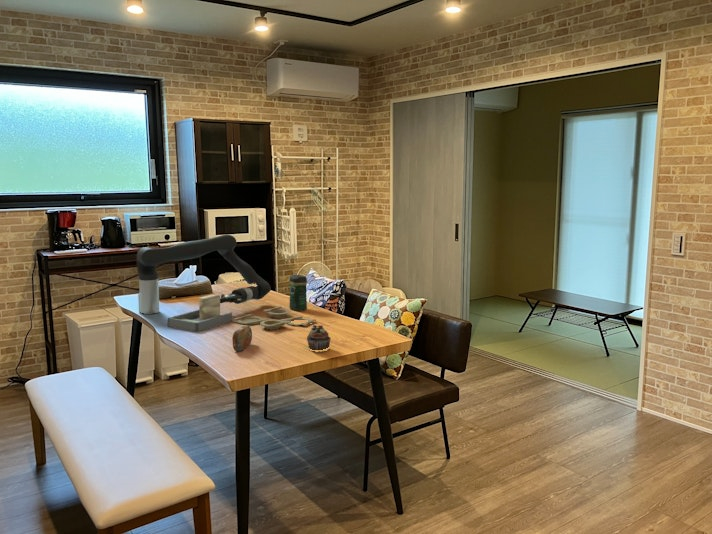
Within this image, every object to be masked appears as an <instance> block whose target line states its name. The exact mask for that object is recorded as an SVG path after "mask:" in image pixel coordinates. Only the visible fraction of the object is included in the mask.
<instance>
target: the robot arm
mask: <svg viewBox="0 0 712 534" xmlns="http://www.w3.org/2000/svg"><path fill="white" fill-rule="evenodd" d="M236 245H237V239H236V237H235V236H234V235H232V234H222V235H218V236H215V237H210V238H204V239H198V240H190V241H184V242H179V243H177V244H174V245H171V246H168V247H162V248H161V247H160V248H152V247H148V246H145V247H144V246H143V247H140V249H138V251H137V253H136V269H137V275H138V287H139V293H138V294H137V295H138V296H137V297H138V298H137V299H138V300H137V301H138V312H139V313H140V312H141V313H140V314H142V313H144V314H143V315H151V314H153V313H154V314H157V313H160V293H159V290H160V289H159V287H160V286H159V273H158V271H157V265H161V264H164V263H165V264H166V263H168V262H178V261H185V260H186V261H187V260H194V259H197V258H201V257H202V256H205V255H207V254H209V253H212V252H215V251H217V252H218V253H219V255H221V256H222V257H223V258H224V260H226V261H227V262H228V263H229V264H231V266H232V267H234V269H235V270H236V271H237V272H238V273H239V275H241V277H242V278H243V280H245V282H246V283H247V284H248V285H252V284H256V286H253V285H252V286H247V287H241V288H236V289H233V290H232V291H231V292H230V293H228V294H226V295H225V294H223V293H222V294H221V295H220V304H223V303H234V304H235V305H238V304H242V303H245V302H246V303H247V302H249V301H251V300H252V301H253V300H262V299H264V297H265V296H267V294H269V293H270V292H271V290H272V288H271V285H270V284H269V281H268V282H267V281H266V280H265V279H263V278H262V277H261V276H260V275H259V274H258V273H256V271H255V270H254V269H253V267H252V266H251V265H250V264H249V263H247V262H246V261H244V260H243V259H241V258H240V257H239V256H238V255H237V254H236V252H235V250H234V249H235V248H236Z"/></svg>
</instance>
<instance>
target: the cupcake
mask: <svg viewBox="0 0 712 534" xmlns="http://www.w3.org/2000/svg"><path fill="white" fill-rule="evenodd" d="M331 339H332V338H331V337H330V336H329V332H328V331H327V330H326V329H325V328H324V326H323V325H314V324H313V326H312V327H311V328H310V331H309V332H308V334H307V337H306V341H307V344H308V349H309V348H310V349H312V350H323V349H326V348H328V347H329V348H330V345H331V344H330V343H331Z"/></svg>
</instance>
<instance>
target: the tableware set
mask: <svg viewBox="0 0 712 534" xmlns="http://www.w3.org/2000/svg"><path fill="white" fill-rule="evenodd" d="M263 312H266V313H267V314H269V315H270V316H271V318H273V317H274V318H273V319H270V318H268V317H267V318H263V317H260V316H253V314H252V313H251V314H250V313H245V314H244V315H242V316H238V317H235V318H233V321H236V323H237V324H239V325H246V326H249V325H258V324H259V325H260V326H262V327H264V329H266V330H268V329H270V330H269V331H273V330H272V329H277V330H279V328H280V329H281V327H283V326H285V325H288V324H290V325H289V326H291V325H303V326H302V327H306V326H305V325H308V324H310V323H313V322H314V323H315V322H316V321H317V319H316V318H315V319H314V318H312V319H311V318H305V317H304V318H303V315H301V316H293V317H288V318H285V316H286V317H287V315H288V314H290V312H291V309H287V308H283V307H282V305H279V306H276V307H272V308H267V309H266V308H264V309H263ZM281 317H284V318H281ZM294 320H308V322H306V323H301V324H294V323H291V321H294ZM314 323H313V324H314ZM308 326H309V325H308Z"/></svg>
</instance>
